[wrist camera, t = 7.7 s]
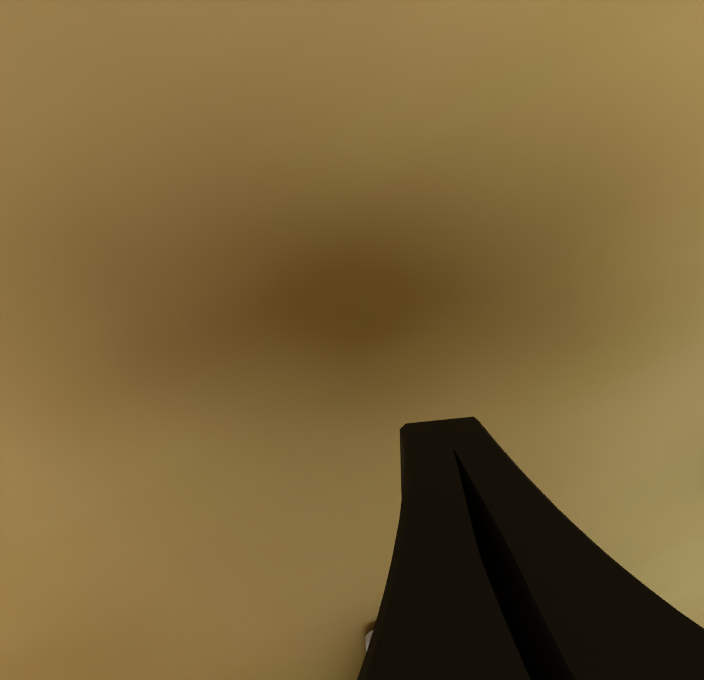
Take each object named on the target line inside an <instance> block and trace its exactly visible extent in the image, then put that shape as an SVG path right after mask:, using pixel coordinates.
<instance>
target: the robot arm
mask: <svg viewBox="0 0 704 680" xmlns="http://www.w3.org/2000/svg"><path fill="white" fill-rule="evenodd" d="M400 454H401V492H402V502H401V511H400V518H399V524H398V530H397V535H396V540H395V546H394V551H393V556H392V561H391V566H390V570H389V574H388V579H387V583H386V587H385V591H384V594H383V598H382V602H381V605H380V609H379V613H378V616H377V620H376V623H375V626H374V629H373V630H372V631H370V632H369V633H368V634H367V635H366V638H365V642H366V655H365V658H364V661H363V664H362V667H361V670H360V673H359V676H358V678H357V680H704V628H702V627H701V626H699V625H698V624H696V623H695V622H693V621H692V620H691V619H689V618H688V617H686V616H685V615H683V614H682V613H680V612H679V611H678V610H676V609H675V608H674V607H673V606H671V605H670V604H669V603H667V602H666V601H665V600H663V599H662V598H661V597H659V596H658V595H657V594H655V593H654V592H653V591H651V590H650V589H649V588H648V587H646V586H645V585H644V584H643V583H641V582H640V581H639V580H638V579H636V578H635V577H634V576H633V575H632V574H630V573H629V572H628V571H627V570H625V569H624V568H623V567H622V566H620V565H619V564H618V563H617V562H616V561H615V560H613V559H612V558H611V557H610V556H609V555H608V554H606V553H605V552H604V551H603V550H602V549H601V548H600V547H598V546H597V545H596V544H595V543H594V542H593V541H592V540H591V539H590V538H589V537H587V536H586V535H585V534H584V533H583V532H582V531H581V530H580V529H579V528H578V527H577V526H576V525H574V524H573V523H572V522H571V521H570V520H569V519H568V518H567V517H566V516H565V515H564V514H563V513H562V512H561V511H560V510H559V509H558V508H557V507H556V506H555V505H554V504H553V503H552V502H551V501H550V500H549V499H548V498H547V497H546V496H545V495H544V494H543V493H542V492H541V491H540V490H539V489H538V488H537V487H536V486H535V485H534V484H533V483H532V481H531V480H530V479H529V478H528V477H527V476H526V475H525V474H524V473H523V472H522V471H521V470H520V469H519V467H518V466H517V465H516V464H515V463H514V462H513V461H512V460H511V458H510V457H509V456H508V455H507V454H506V453H505V452H504V451H503V449H502V448H501V447H500V446H499V445H498V444H497V442H496V441H495V440H494V439H493V438H492V436H491V435H490V434H489V433H488V432H487V430H486V429H485V428H484V427H483V426H482V424H481V423H480V422H479V421H478V420H477V419H476V418H474V417H466V418H456V419H447V420H437V421H427V422H417V423H407V424H405V425H404V426H403V427H402V428H401V429H400Z"/></svg>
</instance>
